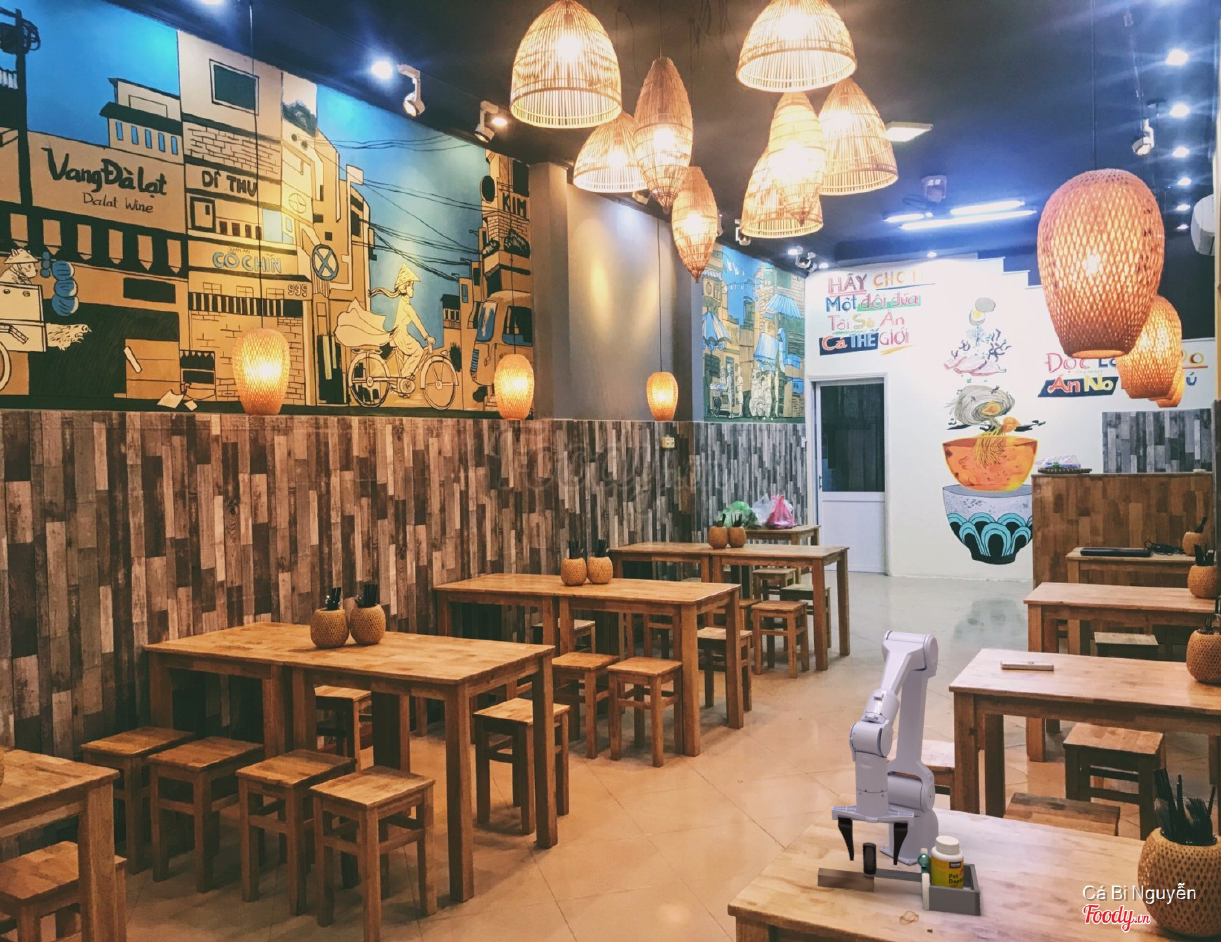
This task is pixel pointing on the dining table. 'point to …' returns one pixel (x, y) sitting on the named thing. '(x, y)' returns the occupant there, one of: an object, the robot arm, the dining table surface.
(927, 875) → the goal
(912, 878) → the slider rail assembly
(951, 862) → the supplement bottle
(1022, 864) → the dining table surface
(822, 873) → the guide
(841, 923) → the dining table surface
